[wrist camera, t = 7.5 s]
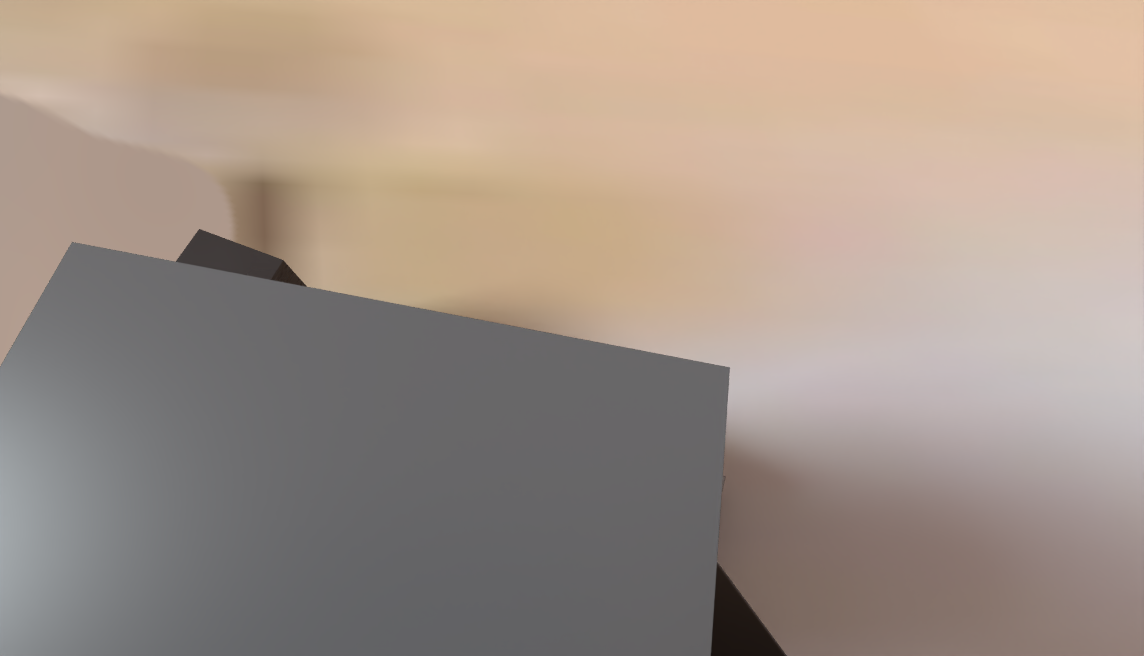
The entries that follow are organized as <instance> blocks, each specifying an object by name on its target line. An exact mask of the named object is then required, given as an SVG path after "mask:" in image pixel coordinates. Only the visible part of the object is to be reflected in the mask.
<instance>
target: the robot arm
mask: <svg viewBox="0 0 1144 656" xmlns="http://www.w3.org/2000/svg"><path fill="white" fill-rule="evenodd" d="M711 656H787V655H786V654H785V653H784V651H783V650H782V649H781V647H780V646H779V645H778V643H777V642H776V641H775V639H774V638H773V636H772V635H771V634H770V632H769V631H768V630H767V628H766V627H765V626H764V624H763V623H762V622H761V620H760V619H759V618H758V616H757V615H756V614H755V612H754V611H753V610H752V608H751V607H750V605H749V604H748V603H747V601H746V600H745V599H744V597H743V596H742V595H741V593H740V592H739V591H738V589H737V588H736V587H735V585H734V584H733V583H732V581H731V580H730V578H729V577H728V576H727V574H726V573H725V572H724V570H723V569H722V568H721V566H720V565H719V564H718V562H717V568H716V583H715V598H714V613H713V628H712V644H711Z"/></svg>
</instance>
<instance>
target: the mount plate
mask: <svg viewBox="0 0 1144 656" xmlns="http://www.w3.org/2000/svg"><path fill="white" fill-rule="evenodd" d="M176 262H179V263H185V264H190V265H195V266H200V267H206V268H211V269H216V270H221V271H226V272H232V273H237V274H242V275H247V276H253V277H258V278H263V279H268V280H274V281H279V282H284V283H289V284H295V285H300V286H305V287H307V286H306V285H305V284H304V283H303V282H302V281H301V280H300V278H299V277H298V276H297V275H296V274H295V273H294V272H293V271H292V269H291V268H290V267H289V266H288V265H287V264H286V263H285V262H284V261H283V260H281V259H279V258H276V257H273V256H271V255H268V254H265V253H262V252H260V251H257V250H254V249H252V248H249V247H246V246H244V245H241V244H238V243H235V242H233V241H230V240H227V239H225V238H222V237H219V236H217V235H214V234H211V233H209V232H206V231H203V230H200V229H199V230H198V232H197V233H196V234H195V236H194V237H193V239H192V240H191V241H190V243H189V244H188V245H187V247H186V248H185V250H184V251H183V253H182V254H181V255H180V257H179V258H178V259H177V261H176ZM724 481H725V476H723V478H722V489H723V485H724Z"/></svg>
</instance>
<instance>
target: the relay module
mask: <svg viewBox="0 0 1144 656" xmlns="http://www.w3.org/2000/svg"><path fill="white" fill-rule="evenodd" d="M729 372H730V367H725V366H719V365H714V364H709V363H704V362H698V361H693V360H688V359H683V358H677V357H672V356H667V355H662V354H656V353H651V352H646V351H641V350H635V349H630V348H625V347H620V346H614V345H609V344H604V343H599V342H593V341H588V340H583V339H578V338H572V337H567V336H562V335H557V334H552V333H546V332H541V331H536V330H531V329H525V328H520V327H515V326H510V325H504V324H499V323H494V322H489V321H483V320H478V319H473V318H468V317H462V316H457V315H452V314H447V313H441V312H436V311H431V310H426V309H420V308H415V307H410V306H405V305H399V304H394V303H389V302H384V301H379V300H373V299H368V298H363V297H358V296H352V295H347V294H342V293H337V292H331V291H326V290H321V289H316V288H310V287H305V286H300V285H295V284H289V283H284V282H279V281H274V280H268V279H263V278H258V277H253V276H247V275H242V274H237V273H232V272H226V271H221V270H216V269H211V268H206V267H200V266H195V265H190V264H185V263H179V262H174V261H169V260H164V259H158V258H153V257H148V256H143V255H137V254H132V253H127V252H122V251H116V250H111V249H106V248H100V247H95V246H90V245H85V244H80V243H74V242H72V243H71V245H70V247H69V248H68V250H67V252H66V253H65V255H64V257H63V259H62V261H61V262H60V264H59V266H58V267H57V269H56V271H55V273H54V274H53V276H52V278H51V280H50V281H49V283H48V285H47V286H46V288H45V290H44V292H43V293H42V295H41V297H40V299H39V300H38V302H37V304H36V306H35V307H34V309H33V311H32V312H31V315H30V316H29V318H28V319H27V321H26V323H25V325H24V326H23V328H22V330H21V331H20V333H19V335H18V337H17V338H16V340H15V342H14V344H13V345H12V347H11V349H10V350H9V352H8V354H7V356H6V357H5V359H4V361H3V363H2V364H1V366H0V656H711V644H712V628H713V613H714V598H715V583H716V568H717V553H718V538H719V523H720V508H721V493H722V478H723V463H724V448H725V433H726V417H727V402H728V387H729Z"/></svg>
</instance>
